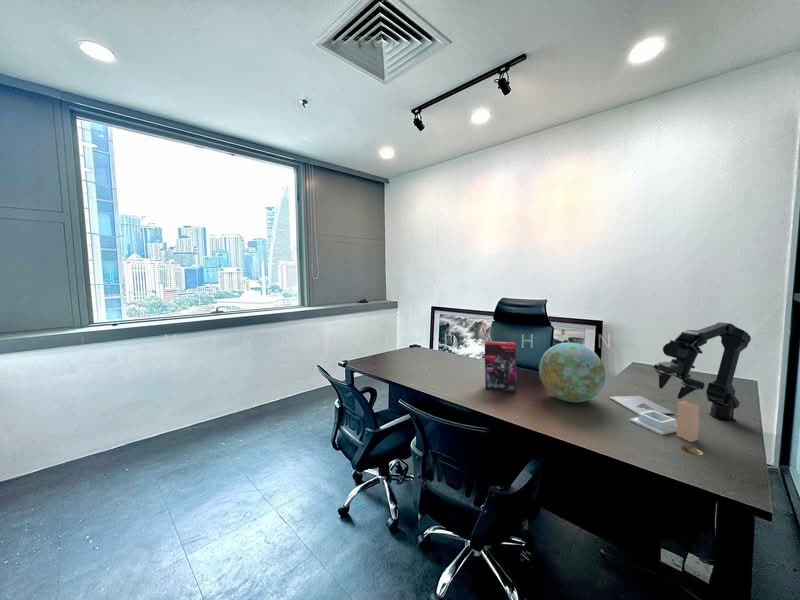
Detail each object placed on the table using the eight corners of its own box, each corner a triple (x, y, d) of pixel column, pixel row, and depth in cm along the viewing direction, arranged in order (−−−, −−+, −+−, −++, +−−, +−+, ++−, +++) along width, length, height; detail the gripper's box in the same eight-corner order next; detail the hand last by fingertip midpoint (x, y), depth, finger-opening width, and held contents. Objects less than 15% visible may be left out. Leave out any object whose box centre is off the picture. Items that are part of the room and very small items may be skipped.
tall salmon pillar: (683, 434, 130) (684, 400, 128) (697, 440, 125) (699, 405, 124) (676, 435, 129) (677, 402, 127) (690, 441, 124) (692, 407, 122)
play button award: (640, 395, 166) (673, 412, 146) (640, 398, 167) (673, 415, 147) (609, 396, 166) (639, 413, 146) (609, 399, 166) (639, 417, 146)
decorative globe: (556, 385, 187) (557, 334, 184) (614, 401, 163) (616, 343, 160) (527, 398, 169) (527, 343, 166) (587, 418, 145) (589, 354, 142)
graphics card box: (484, 390, 183) (484, 343, 181) (485, 385, 190) (485, 340, 187) (516, 392, 178) (516, 344, 175) (516, 388, 184) (516, 341, 182)
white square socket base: (652, 416, 145) (652, 407, 145) (684, 429, 133) (685, 420, 133) (630, 420, 142) (630, 412, 141) (661, 435, 129) (662, 425, 129)
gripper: (650, 348, 143) (636, 379, 146) (688, 364, 125) (671, 399, 128) (672, 354, 144) (657, 385, 147) (713, 371, 126) (695, 406, 129)
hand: (669, 393), depth 138 cm, fingers open, 9 cm apart
